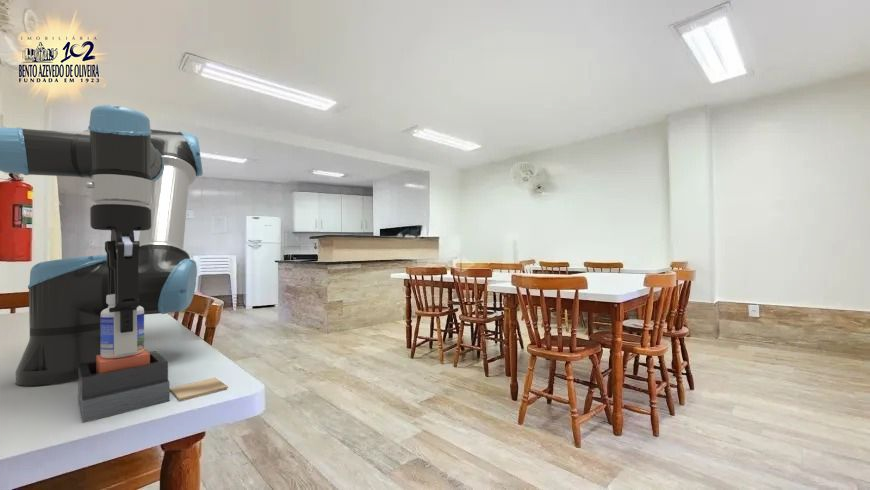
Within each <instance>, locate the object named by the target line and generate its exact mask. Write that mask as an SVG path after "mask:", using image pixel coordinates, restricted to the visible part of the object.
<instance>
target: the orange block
mask: <svg viewBox="0 0 870 490" xmlns="http://www.w3.org/2000/svg"><path fill="white" fill-rule="evenodd" d="M148 352H149V351H147V350H146V349H145V348H144V351H143V352H142V353H140V354H137V355H133V356H128V357H122V358H113V359H106V358H102V357H101V355H96V374H97V373H102V372H107V371H113V370H118V369H123V368H129V367H134V366H139V365H145V364H150V354H149V353H148Z"/></svg>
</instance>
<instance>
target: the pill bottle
mask: <svg viewBox="0 0 870 490" xmlns="http://www.w3.org/2000/svg"><path fill="white" fill-rule="evenodd" d="M106 303H107V304H108V308H106V309H104V310H103V311H102V312H101V317H100V333H101V342H100V344H101V349H100V352H101V357H102V358H106V359H113V358H122V357H128V356H133V355H137V354H140V353H142V352H143V351H144V349H145V315H144V308H143V307H141V306H138V307H137V352H131V353H125V354H119V355H114V312H110V313H109V309H110V308H113V307H115V294H110V295H107V296H106Z"/></svg>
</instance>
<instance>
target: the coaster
mask: <svg viewBox="0 0 870 490" xmlns="http://www.w3.org/2000/svg"><path fill="white" fill-rule="evenodd" d="M227 388H228V389H229V386H228V385H227V384H225V383H224V382H223V381H221V380H220V379H219V378H217V377H211V378H207V379H203V380H198V381H195V382H194V381H193V382H190V383H186V384H181V385H177V386H173V387H170V393H171V394H172V395H173V396H174V397H175V398H176V399H177V400H178V402H182V401H185V400H189V399H193V398H198V397H202V396H205V395H209V394H212V393H216V392H217V393H218V392H221V391H225V390H228V389H227ZM224 389H225V390H224ZM220 390H221V391H220Z"/></svg>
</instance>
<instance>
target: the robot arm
mask: <svg viewBox="0 0 870 490" xmlns="http://www.w3.org/2000/svg"><path fill="white" fill-rule="evenodd" d="M89 116H90V117H89V125H88V127H87V129H85V130H84V131H83V130H82V131H73V130H69V131H68V130H47V129H46V130H44V129H43V130H42V129H32V128H31V129H30V128H22V127H8V126H7V127H6V126H0V172H3V173H7V174H17V175H18V174H19V175H24V176H30V175H31V176H48V177H49V176H54V177H71V178H72V177H75V178H86V179H90V181H86V182H85V183H84V187H85V188H87V189H91V190H90V201H91V202H93V203H94V204H92V206H90V207H89V209H90V210H89V213H90V215H89V216H90V227H91V228H92V229H93V230H100V231H110V240H106V241H105V242H104V250H105V253H106V254H99V255H96V254H95V255H89V256H77V257H68V258H61V259H53V260H46V261H40V262H38V263H36V264H34V265H33V266H32V267H31V268H30V273H29V284H28V286H27V289H28V306H29V307H28V308H29V309H28V310H29V311H28V316H29V319H28V320H29V322H28V323H29V339H28V342H27V345H26V347H25V349H24V352H23V354H22V357H21V359H20V361H19V363H18V366H17V368H16V370H15V384H16V385H19V386H26V387H27V386H28V387H29V386H32V387H33V386H46V385H47V386H48V385H54V384H60V383H62V384H63V383H67V382H73V381H77V380H78V364H82V363H88V362H94V361H96V355H101V352H100V349H101V344H100V342H101V333H100V317H101V312H102V311H103V310H104V309H106V308H108V304H107V303H106V296H107V295H110V294H115V307H113V308H110V309H109V313H110V312H114V355H119V354H125V353H131V352H137V307H138V306H141V307H143V308H144V316H145V315H157V314H158V315H159V314H161V315H165V314H166V315H167V314H168V313H174V312H175V313H177V312H182V311H186V309H188V308H189V306H191V303H192V301H193V299H194V295H195V290H196V287H197V285H196V284H197V277H198V268H197V262H196V260H194V259H192V258H191V256H190V254H189V253H188V252H187V250H185V249H184V241H185V233H186V232H185V231H186V218H187V205H188V197H189V196H188V194H189V186H190V185H191V184H193V183H194V182H195V180H196V177H201V176H203V165H202V163H203V162H202V155H201V152H200V151H201V149H200V143H199V138H198V137H197V135H194V134H192V133H187V132H183V131H178V132H176V131H171V130H170V131H167V130H159V129H151V124H150V123H151V122H150V121H151V120H150V119H149V117H148V116H147V115H146V114H144V112H141V111H139V110H136V109H133V108H129V107H124V106H121V105H110V104H107V105H106V104H103V105H97V106H94V107H93V108H92V109H91V110H90V115H89ZM137 231H139V236H138V240H135V232H137Z"/></svg>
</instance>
